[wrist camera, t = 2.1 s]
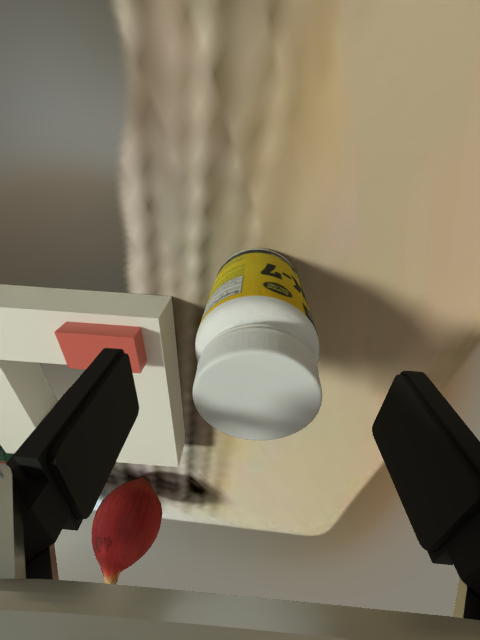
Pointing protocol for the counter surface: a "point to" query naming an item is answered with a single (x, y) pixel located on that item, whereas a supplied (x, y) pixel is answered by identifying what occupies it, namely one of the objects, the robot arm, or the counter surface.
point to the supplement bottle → (257, 350)
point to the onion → (125, 526)
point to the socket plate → (90, 361)
